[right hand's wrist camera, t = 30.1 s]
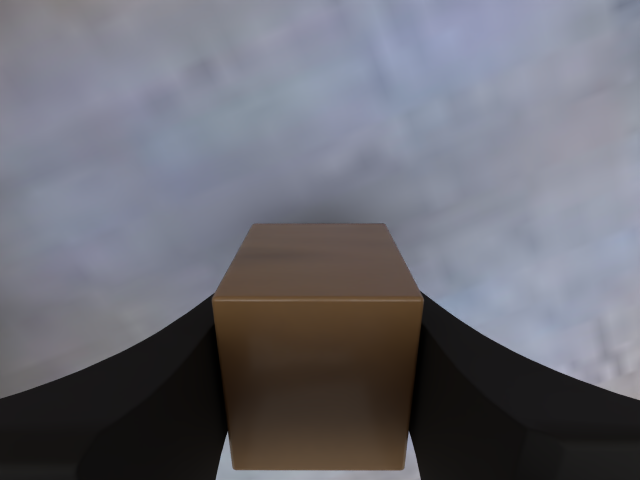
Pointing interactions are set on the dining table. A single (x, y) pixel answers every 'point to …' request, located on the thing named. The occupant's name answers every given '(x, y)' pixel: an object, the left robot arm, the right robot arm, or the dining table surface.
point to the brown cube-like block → (318, 348)
